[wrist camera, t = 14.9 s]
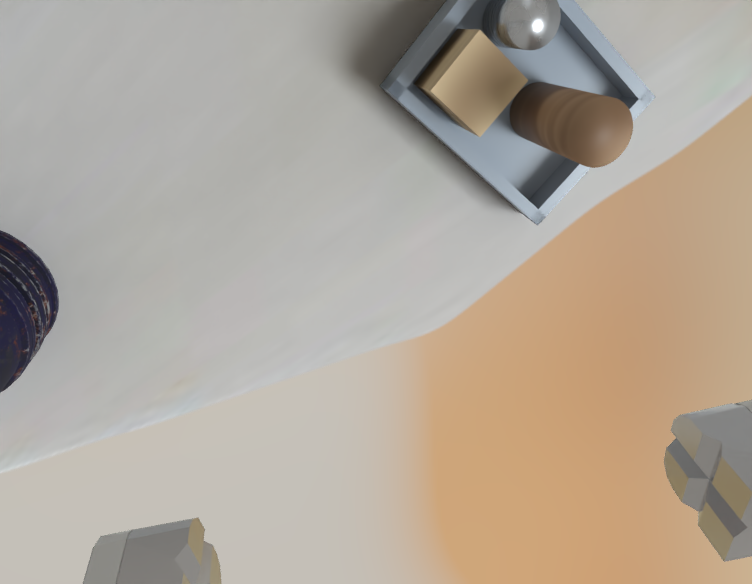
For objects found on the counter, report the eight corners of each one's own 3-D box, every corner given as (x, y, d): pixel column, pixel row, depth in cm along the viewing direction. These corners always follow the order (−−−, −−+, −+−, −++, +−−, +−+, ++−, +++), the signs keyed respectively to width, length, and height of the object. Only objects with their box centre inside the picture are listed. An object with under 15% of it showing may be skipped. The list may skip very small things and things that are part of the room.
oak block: (413, 84, 34) (430, 90, 31) (457, 28, 34) (479, 29, 30) (459, 126, 36) (479, 137, 33) (502, 74, 35) (528, 80, 32)
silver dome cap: (472, 23, 34) (496, 23, 30) (507, -21, 33) (535, -26, 29) (505, 58, 35) (532, 62, 31) (540, 16, 34) (571, 16, 31)
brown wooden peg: (498, 116, 36) (554, 139, 29) (537, 69, 35) (604, 81, 28) (534, 150, 38) (596, 181, 31) (573, 106, 37) (645, 127, 30)
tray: (379, 86, 35) (387, 90, 33) (496, -65, 33) (514, -72, 30) (522, 213, 40) (537, 225, 38) (632, 92, 38) (655, 97, 36)
